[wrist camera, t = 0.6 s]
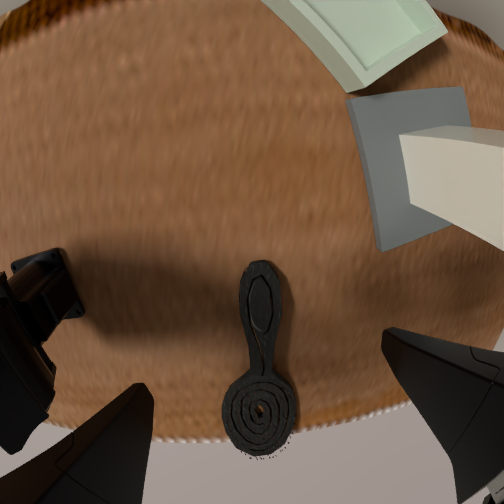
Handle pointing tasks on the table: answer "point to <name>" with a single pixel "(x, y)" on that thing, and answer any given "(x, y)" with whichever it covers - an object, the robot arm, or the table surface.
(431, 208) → the white block
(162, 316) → the table surface
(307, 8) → the tray
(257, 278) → the hairbrush
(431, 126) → the coaster
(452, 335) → the table surface
